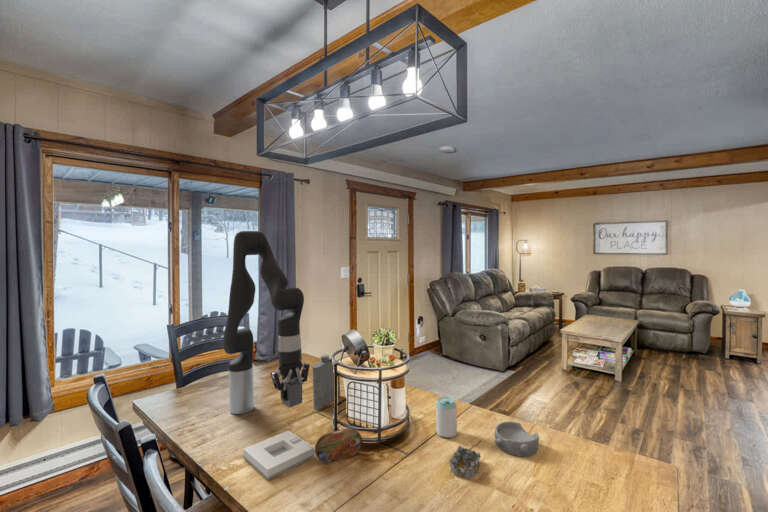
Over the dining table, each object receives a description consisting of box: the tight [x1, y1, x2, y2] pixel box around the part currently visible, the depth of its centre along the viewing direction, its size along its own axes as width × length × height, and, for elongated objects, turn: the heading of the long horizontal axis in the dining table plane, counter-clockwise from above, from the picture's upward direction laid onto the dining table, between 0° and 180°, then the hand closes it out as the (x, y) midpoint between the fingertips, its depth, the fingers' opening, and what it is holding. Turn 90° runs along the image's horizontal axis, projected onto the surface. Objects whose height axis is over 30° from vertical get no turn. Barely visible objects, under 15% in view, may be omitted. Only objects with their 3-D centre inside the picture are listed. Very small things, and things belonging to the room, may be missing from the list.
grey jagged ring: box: [449, 445, 481, 480], centre depth 111 cm, size 11×8×4 cm
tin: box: [314, 427, 363, 465], centre depth 118 cm, size 15×3×8 cm, turn 117°
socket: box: [242, 430, 316, 481], centre depth 119 cm, size 16×16×4 cm
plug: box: [281, 378, 303, 408], centre depth 126 cm, size 5×5×9 cm
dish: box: [494, 421, 540, 457], centre depth 122 cm, size 14×14×5 cm
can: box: [435, 396, 458, 439], centre depth 131 cm, size 7×7×12 cm
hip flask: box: [312, 354, 341, 411], centre depth 160 cm, size 16×4×20 cm, turn 150°
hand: (291, 397), depth 126 cm, fingers closed on plug, 4 cm apart
